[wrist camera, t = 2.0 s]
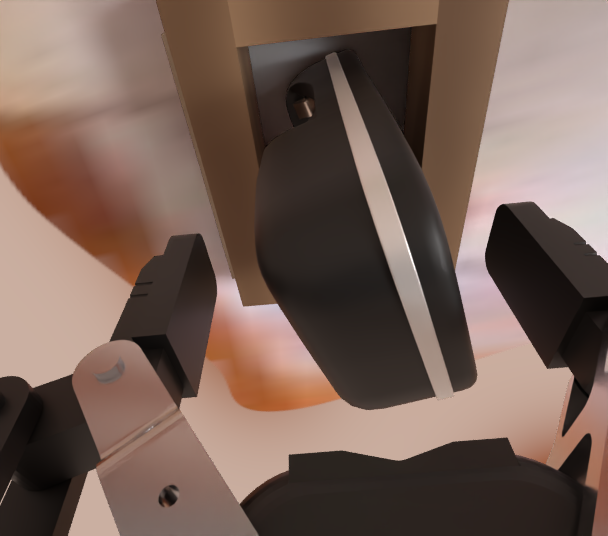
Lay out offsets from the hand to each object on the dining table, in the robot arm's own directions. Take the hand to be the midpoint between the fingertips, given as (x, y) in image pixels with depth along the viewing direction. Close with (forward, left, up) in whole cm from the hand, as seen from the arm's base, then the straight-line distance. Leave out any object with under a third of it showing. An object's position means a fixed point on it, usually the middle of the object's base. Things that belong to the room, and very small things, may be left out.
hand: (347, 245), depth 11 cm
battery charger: (0, 0, -8) cm, 8 cm away
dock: (0, 0, -8) cm, 8 cm away
